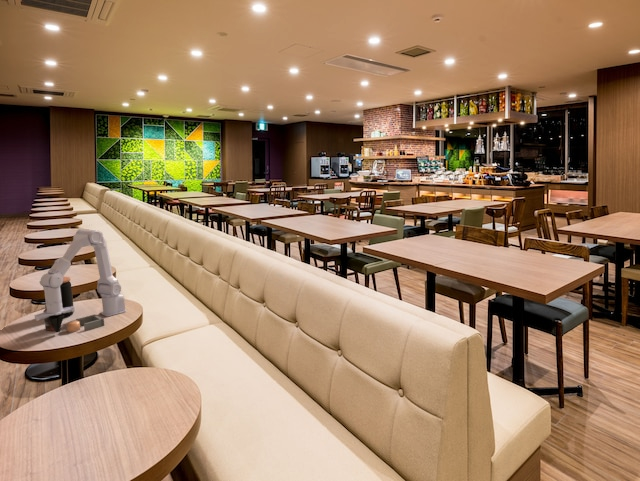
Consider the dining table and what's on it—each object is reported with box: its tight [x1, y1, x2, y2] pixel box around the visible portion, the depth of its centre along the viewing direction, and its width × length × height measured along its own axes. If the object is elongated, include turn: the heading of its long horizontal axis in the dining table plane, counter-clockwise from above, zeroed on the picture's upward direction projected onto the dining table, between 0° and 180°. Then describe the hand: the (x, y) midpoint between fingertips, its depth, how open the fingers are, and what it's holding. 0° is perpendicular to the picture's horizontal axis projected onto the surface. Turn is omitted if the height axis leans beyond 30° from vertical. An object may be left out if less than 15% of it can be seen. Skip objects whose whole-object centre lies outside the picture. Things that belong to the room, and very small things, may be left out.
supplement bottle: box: [42, 304, 55, 332], centre depth 185 cm, size 6×6×11 cm
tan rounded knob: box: [65, 320, 81, 333], centre depth 184 cm, size 5×5×4 cm
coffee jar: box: [60, 276, 75, 319], centre depth 201 cm, size 11×11×18 cm
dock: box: [75, 314, 105, 331], centre depth 190 cm, size 8×9×3 cm
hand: (57, 331), depth 180 cm, fingers closed
